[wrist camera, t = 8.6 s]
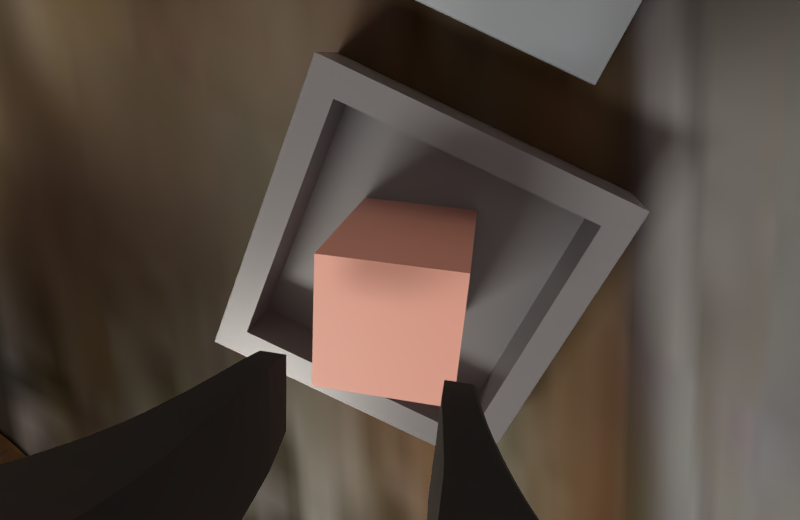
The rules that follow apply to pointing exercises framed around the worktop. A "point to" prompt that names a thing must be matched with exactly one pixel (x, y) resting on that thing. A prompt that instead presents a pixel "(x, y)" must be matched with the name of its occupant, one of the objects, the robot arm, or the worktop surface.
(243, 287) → the tray
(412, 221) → the block
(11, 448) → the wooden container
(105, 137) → the worktop surface
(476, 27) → the board
